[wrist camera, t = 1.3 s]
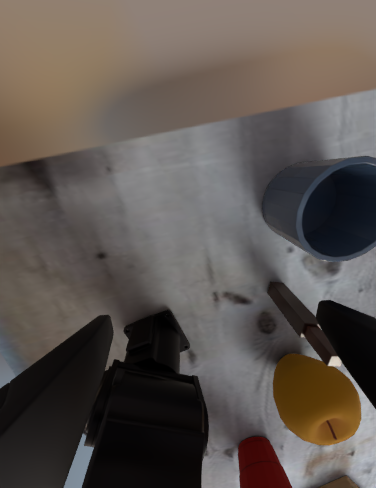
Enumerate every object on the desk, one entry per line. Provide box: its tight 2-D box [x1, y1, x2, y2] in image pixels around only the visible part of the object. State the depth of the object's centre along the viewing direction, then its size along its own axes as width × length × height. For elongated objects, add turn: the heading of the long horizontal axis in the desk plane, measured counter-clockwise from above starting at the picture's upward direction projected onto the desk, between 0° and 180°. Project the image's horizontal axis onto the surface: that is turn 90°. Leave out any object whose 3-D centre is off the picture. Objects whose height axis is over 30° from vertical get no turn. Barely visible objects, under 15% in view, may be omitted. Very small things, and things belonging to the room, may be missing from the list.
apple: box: [273, 354, 361, 445], centre depth 24 cm, size 9×9×9 cm
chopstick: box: [268, 282, 342, 367], centre depth 19 cm, size 2×2×10 cm
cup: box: [262, 156, 376, 262], centre depth 18 cm, size 8×8×6 cm
